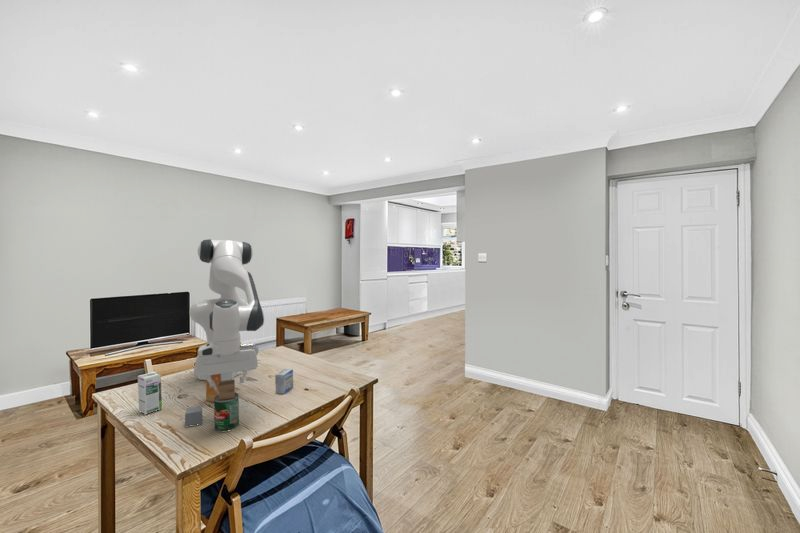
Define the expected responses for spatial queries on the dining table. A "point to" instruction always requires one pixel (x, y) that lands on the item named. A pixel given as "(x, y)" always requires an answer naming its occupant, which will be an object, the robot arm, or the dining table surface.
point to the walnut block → (226, 389)
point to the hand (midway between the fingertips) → (227, 384)
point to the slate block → (193, 416)
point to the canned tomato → (226, 413)
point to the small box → (216, 385)
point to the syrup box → (149, 392)
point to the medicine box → (284, 381)
